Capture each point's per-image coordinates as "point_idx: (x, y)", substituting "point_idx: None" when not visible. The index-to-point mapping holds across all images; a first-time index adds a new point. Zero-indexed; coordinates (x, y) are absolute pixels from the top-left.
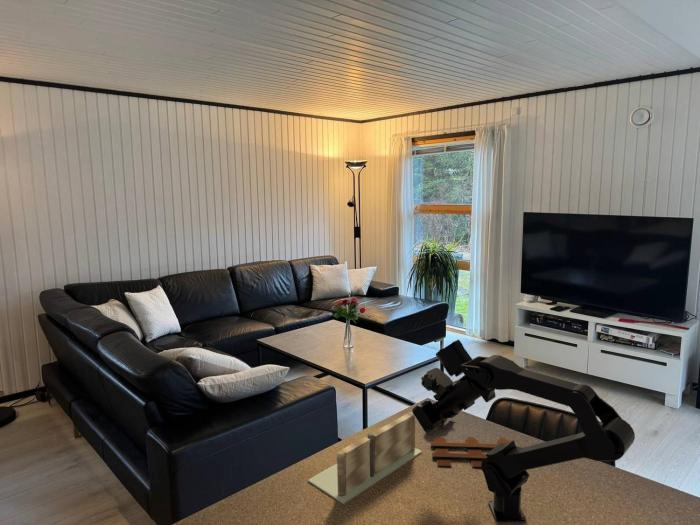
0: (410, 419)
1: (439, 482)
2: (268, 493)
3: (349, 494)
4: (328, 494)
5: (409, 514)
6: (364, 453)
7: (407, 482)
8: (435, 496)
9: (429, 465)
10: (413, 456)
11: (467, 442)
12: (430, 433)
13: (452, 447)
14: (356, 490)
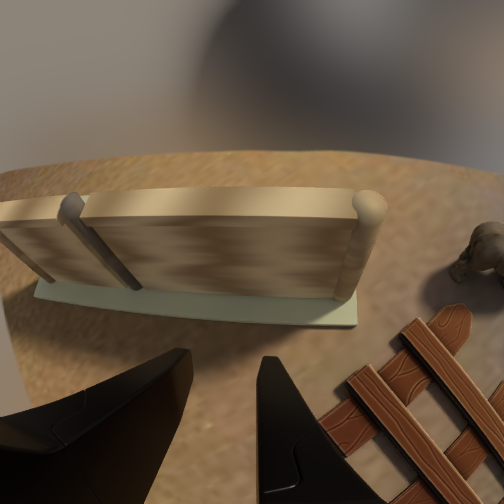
0: (335, 227)
1: (236, 471)
2: (36, 184)
3: (56, 289)
4: None
5: None
6: (61, 241)
7: None
8: (162, 488)
9: (305, 394)
10: (307, 323)
11: (497, 396)
12: (456, 278)
13: (444, 389)
14: (71, 293)
